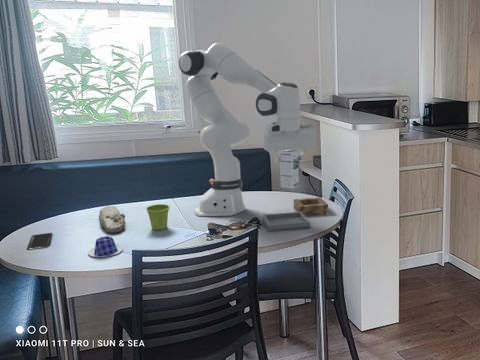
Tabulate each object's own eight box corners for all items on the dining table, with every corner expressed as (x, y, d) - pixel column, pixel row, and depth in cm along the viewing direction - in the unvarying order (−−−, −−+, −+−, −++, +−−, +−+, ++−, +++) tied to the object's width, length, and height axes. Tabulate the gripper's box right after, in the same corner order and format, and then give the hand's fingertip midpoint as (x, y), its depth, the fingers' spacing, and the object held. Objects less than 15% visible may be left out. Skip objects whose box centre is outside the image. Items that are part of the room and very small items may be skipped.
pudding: (112, 244, 182) (110, 230, 180) (129, 251, 173) (128, 237, 172) (82, 253, 173) (80, 239, 172) (99, 261, 165) (97, 247, 164)
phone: (27, 247, 179) (31, 235, 193) (27, 250, 179) (32, 237, 193) (49, 244, 181) (53, 232, 195) (50, 247, 181) (53, 235, 195)
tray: (268, 231, 186) (268, 225, 185) (262, 220, 200) (262, 214, 199) (309, 228, 188) (309, 221, 187) (301, 217, 201) (301, 211, 201)
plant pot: (176, 226, 198) (174, 205, 196) (160, 233, 190) (158, 212, 188) (159, 223, 203) (157, 203, 201) (142, 229, 195) (140, 209, 193)
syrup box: (293, 189, 190) (293, 152, 187) (280, 187, 193) (279, 151, 190) (299, 186, 194) (299, 150, 191) (286, 184, 198) (286, 149, 194)
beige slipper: (119, 213, 226) (97, 217, 223) (117, 202, 225) (95, 206, 222) (130, 231, 193) (104, 236, 190) (127, 218, 192) (102, 223, 189)
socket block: (300, 216, 203) (299, 206, 202) (293, 208, 215) (293, 199, 214) (328, 213, 204) (328, 204, 203) (320, 205, 216) (320, 197, 215)
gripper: (312, 122, 192) (313, 157, 196) (261, 125, 190) (263, 160, 193) (317, 124, 186) (317, 160, 190) (264, 127, 184) (265, 163, 187)
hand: (289, 160), depth 191 cm, fingers closed on syrup box, 8 cm apart
